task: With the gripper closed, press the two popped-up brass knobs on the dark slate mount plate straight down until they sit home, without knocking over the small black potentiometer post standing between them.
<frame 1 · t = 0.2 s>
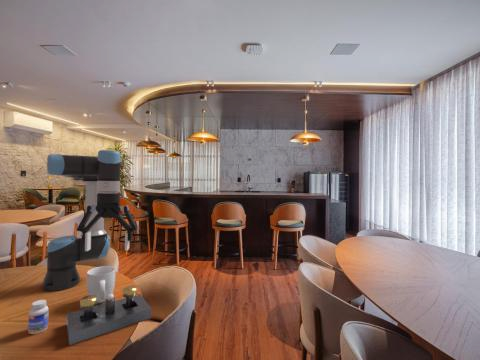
hand: (107, 249, 91), 27 cm above the table, fingers open, 13 cm apart
near knob: (88, 306, 88), point 8 cm above the table, slide at 4.0 cm
far knob: (130, 296, 97), point 8 cm above the table, slide at 4.0 cm
mount plate: (109, 321, 92), on the table
mug: (101, 301, 107), on the table
pill bottle: (38, 330, 86), on the table
pot post: (110, 310, 92), point 4 cm above the table, touching mount plate
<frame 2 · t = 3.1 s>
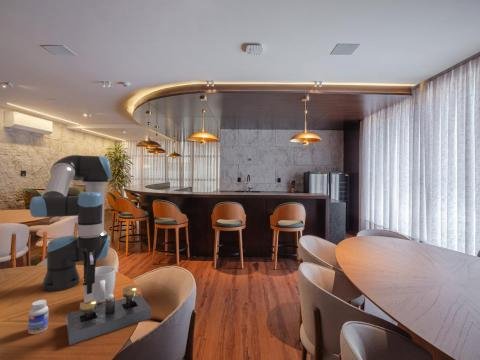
hand: (88, 301, 88), 10 cm above the table, fingers closed
near knob: (88, 310, 88), point 6 cm above the table, slide at 2.8 cm, touching gripper
everything else where it was.
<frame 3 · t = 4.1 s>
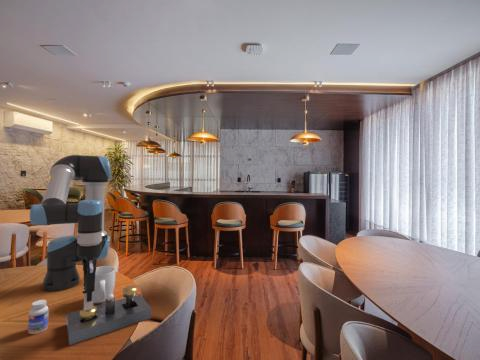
hand: (88, 308, 88), 7 cm above the table, fingers closed
near knob: (88, 317, 88), point 4 cm above the table, slide at 0.0 cm, touching gripper
everything else where it was.
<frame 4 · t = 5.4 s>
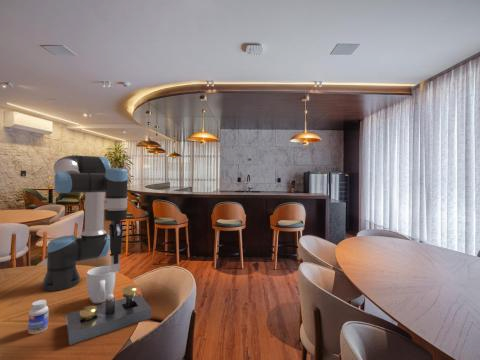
hand: (115, 271, 93), 19 cm above the table, fingers closed
near knob: (88, 317, 88), point 4 cm above the table, slide at 0.0 cm
everything else where it was.
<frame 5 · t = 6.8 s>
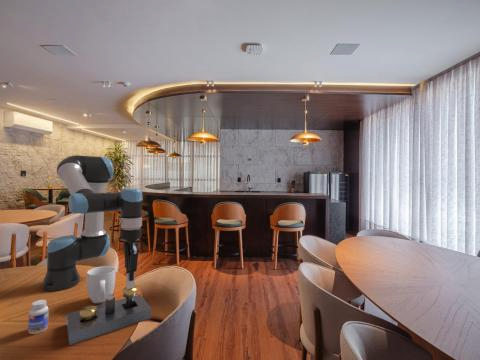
hand: (130, 287, 96), 11 cm above the table, fingers closed
far knob: (130, 296, 97), point 8 cm above the table, slide at 4.0 cm, touching gripper
everything else where it was.
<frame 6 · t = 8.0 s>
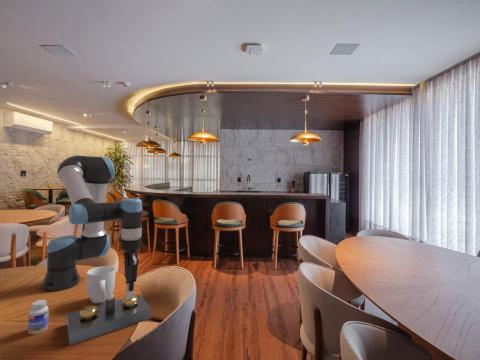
hand: (130, 297, 97), 7 cm above the table, fingers closed
far knob: (129, 306, 97), point 4 cm above the table, slide at 0.0 cm, touching gripper
everything else where it was.
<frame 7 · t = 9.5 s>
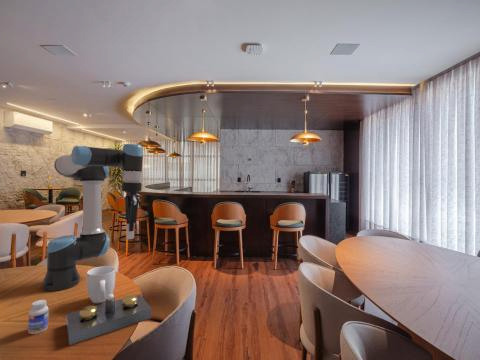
hand: (130, 238, 102), 29 cm above the table, fingers closed
far knob: (129, 306, 97), point 4 cm above the table, slide at 0.0 cm
everything else where it was.
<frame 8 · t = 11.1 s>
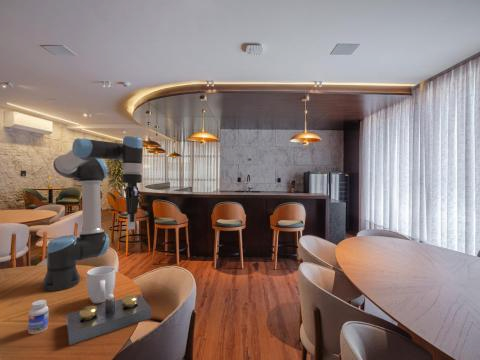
hand: (131, 229, 104), 32 cm above the table, fingers closed
nothing on the table moved.
at the end: near knob slide at 0.0 cm; far knob slide at 0.0 cm; pot post tilted 0° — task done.
